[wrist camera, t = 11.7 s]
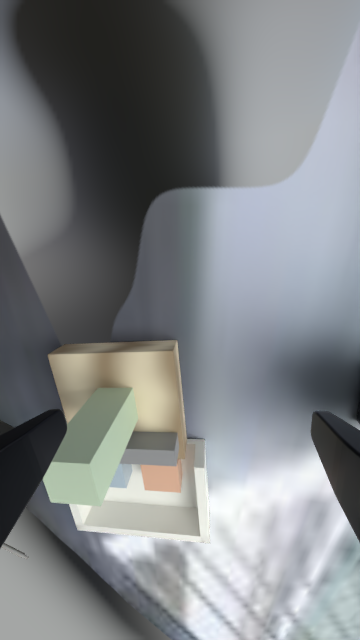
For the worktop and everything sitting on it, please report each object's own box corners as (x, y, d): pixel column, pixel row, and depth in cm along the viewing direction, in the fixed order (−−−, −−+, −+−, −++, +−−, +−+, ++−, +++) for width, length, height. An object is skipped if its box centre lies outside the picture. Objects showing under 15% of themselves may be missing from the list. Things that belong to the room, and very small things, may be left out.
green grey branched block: (172, 387, 19) (151, 467, 11) (179, 447, 20) (164, 547, 13) (62, 388, 20) (-17, 458, 13) (77, 443, 22) (16, 531, 15)
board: (177, 339, 20) (173, 350, 18) (186, 438, 23) (184, 459, 21) (64, 344, 22) (47, 354, 19) (88, 435, 25) (76, 454, 23)
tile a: (179, 447, 23) (177, 464, 21) (182, 474, 24) (180, 492, 22) (145, 445, 24) (139, 462, 22) (149, 472, 25) (144, 490, 23)
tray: (204, 439, 23) (204, 467, 20) (209, 509, 26) (210, 543, 23) (73, 435, 25) (54, 460, 22) (91, 499, 28) (77, 530, 25)
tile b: (127, 444, 24) (120, 460, 22) (132, 470, 25) (126, 488, 23) (95, 443, 24) (85, 458, 22) (101, 469, 25) (93, 485, 24)
